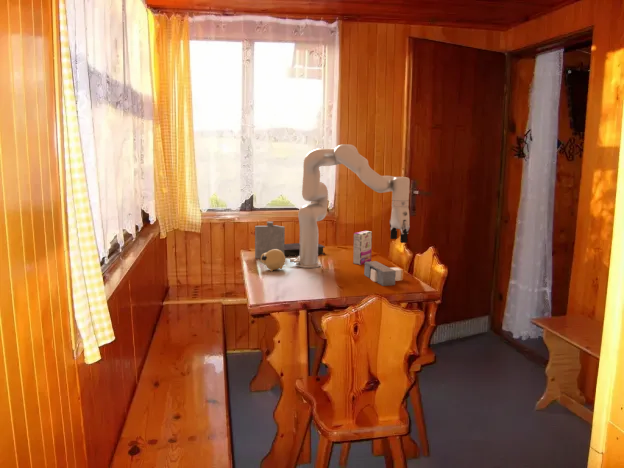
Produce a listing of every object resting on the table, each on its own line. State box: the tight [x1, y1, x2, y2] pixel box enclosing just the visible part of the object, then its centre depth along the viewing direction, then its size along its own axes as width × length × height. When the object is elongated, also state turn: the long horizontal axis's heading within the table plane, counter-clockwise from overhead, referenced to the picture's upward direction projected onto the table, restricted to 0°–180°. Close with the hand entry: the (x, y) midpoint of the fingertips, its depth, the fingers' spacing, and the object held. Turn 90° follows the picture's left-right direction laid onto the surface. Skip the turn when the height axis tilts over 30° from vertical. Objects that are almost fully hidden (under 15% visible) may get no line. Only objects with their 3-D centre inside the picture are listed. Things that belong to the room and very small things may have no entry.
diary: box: [284, 242, 326, 258], centre depth 292 cm, size 19×25×5 cm
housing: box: [363, 260, 396, 287], centre depth 235 cm, size 6×20×6 cm, turn 19°
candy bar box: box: [352, 230, 373, 266], centre depth 269 cm, size 11×5×16 cm, turn 143°
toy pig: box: [260, 249, 286, 272], centre depth 249 cm, size 10×12×11 cm
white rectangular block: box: [369, 266, 404, 283], centre depth 236 cm, size 14×5×5 cm, turn 106°
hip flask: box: [254, 221, 286, 260], centre depth 275 cm, size 16×4×20 cm, turn 91°
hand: (398, 240), depth 235 cm, fingers open, 9 cm apart
